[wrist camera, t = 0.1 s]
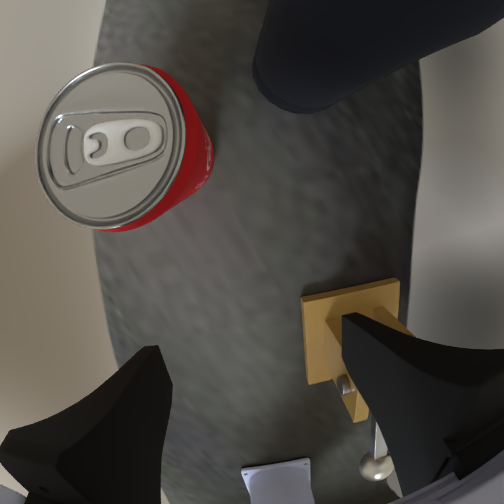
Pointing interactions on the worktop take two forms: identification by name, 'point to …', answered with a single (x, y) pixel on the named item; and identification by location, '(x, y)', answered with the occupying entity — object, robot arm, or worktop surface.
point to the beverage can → (121, 147)
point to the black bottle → (354, 43)
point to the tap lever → (376, 456)
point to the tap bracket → (330, 333)
